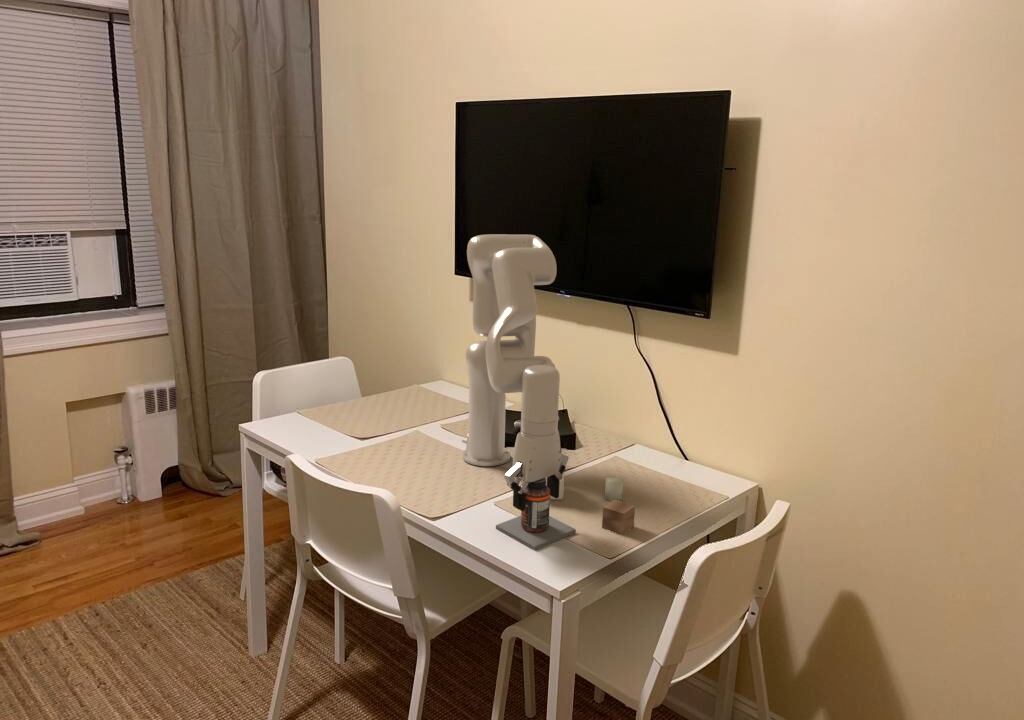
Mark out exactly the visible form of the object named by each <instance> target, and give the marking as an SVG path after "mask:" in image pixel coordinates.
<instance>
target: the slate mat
mask: <svg viewBox="0 0 1024 720" xmlns="http://www.w3.org/2000/svg"><path fill="white" fill-rule="evenodd" d="M495 529H496V530H498V531H499V532H501V533H503V534H504V535H506V536H508V537H509V538H512V539H514V540H515V541H517V542H519V543H520V544H523V545H524V546H526V547H527V548H529V549H531V550H533V551H536V550H538V549H540V548H543V547H546V546H547V545H550V544H552V543H555V542H556V541H559V540H562V539H564V538H566V537H569V536H571V535H574V534H576V531H577V530H576V528H574V527H572V526H570V525H568V524H566V523H564V522H563V521H561V520H558V519H557V518H554V517H552V516H550V515H549V526H548V528H547V529H546V530H545V531H543V532H529V531H526V530H525V529H523V528H522V526H521V515H519V516H516V517H512V518H511V519H508V520H506V521H503V522H501V523H498V524H495ZM573 533H574V534H573Z"/></svg>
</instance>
